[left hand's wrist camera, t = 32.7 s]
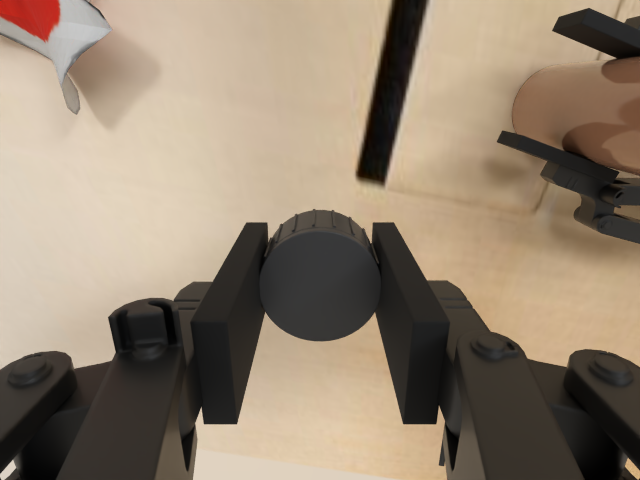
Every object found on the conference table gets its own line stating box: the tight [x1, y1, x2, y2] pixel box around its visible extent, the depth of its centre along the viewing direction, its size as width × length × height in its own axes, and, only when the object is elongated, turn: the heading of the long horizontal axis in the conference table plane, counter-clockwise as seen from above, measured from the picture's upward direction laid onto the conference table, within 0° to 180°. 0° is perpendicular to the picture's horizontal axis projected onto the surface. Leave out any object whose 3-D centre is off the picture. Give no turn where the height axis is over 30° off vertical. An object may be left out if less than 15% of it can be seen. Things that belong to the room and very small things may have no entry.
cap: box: [259, 209, 381, 341], centre depth 13 cm, size 4×4×2 cm
